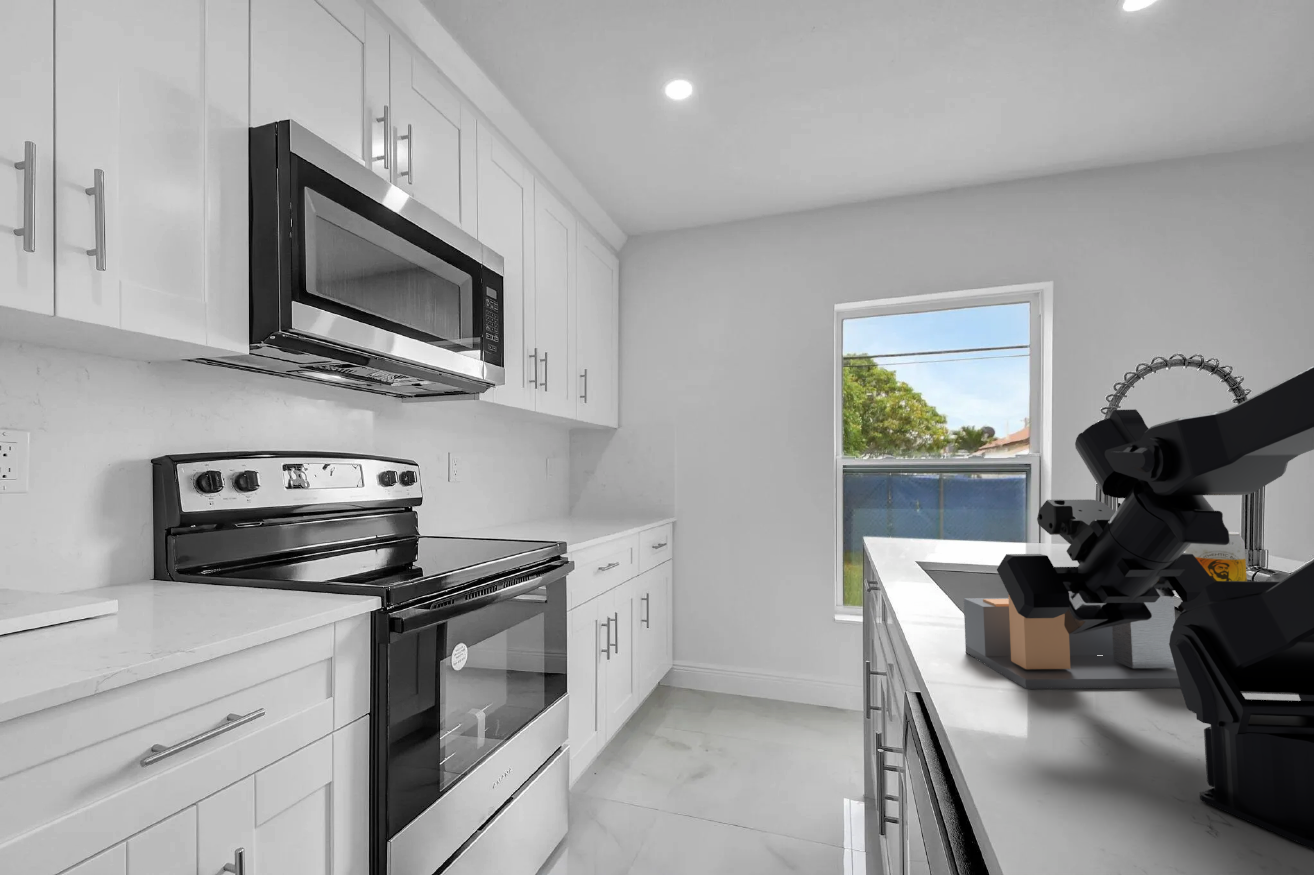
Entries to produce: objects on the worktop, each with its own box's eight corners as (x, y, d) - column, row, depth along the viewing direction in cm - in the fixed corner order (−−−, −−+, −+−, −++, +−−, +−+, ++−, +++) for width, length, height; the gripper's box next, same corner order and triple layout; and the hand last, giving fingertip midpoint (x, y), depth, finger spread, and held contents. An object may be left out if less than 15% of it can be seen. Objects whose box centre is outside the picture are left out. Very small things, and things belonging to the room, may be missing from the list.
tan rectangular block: (1070, 668, 70) (1066, 579, 71) (1025, 669, 70) (1022, 579, 71) (1053, 660, 73) (1050, 574, 74) (1011, 661, 73) (1007, 575, 74)
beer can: (1197, 646, 83) (1191, 533, 84) (1184, 635, 88) (1178, 529, 89) (1258, 652, 80) (1251, 534, 81) (1241, 640, 85) (1234, 530, 86)
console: (1211, 687, 68) (1207, 618, 68) (1026, 688, 68) (1023, 620, 68) (1120, 651, 81) (1117, 594, 82) (965, 652, 81) (963, 595, 82)
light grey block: (1177, 667, 70) (1172, 578, 71) (1132, 668, 70) (1128, 578, 71) (1156, 659, 73) (1152, 573, 74) (1113, 660, 73) (1109, 574, 74)
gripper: (1191, 471, 62) (1116, 566, 72) (1003, 474, 62) (955, 568, 73) (1274, 563, 54) (1175, 655, 64) (1056, 566, 54) (993, 657, 64)
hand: (1069, 629), depth 67 cm, fingers closed
